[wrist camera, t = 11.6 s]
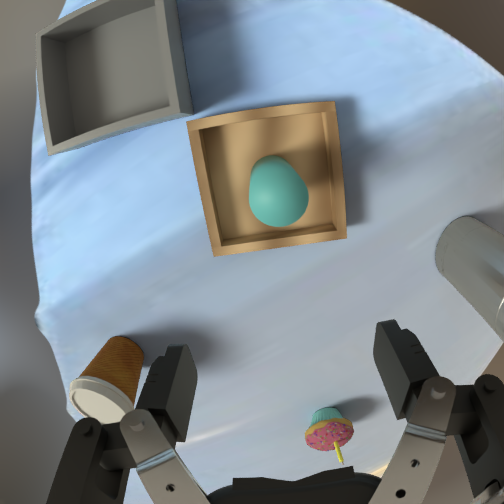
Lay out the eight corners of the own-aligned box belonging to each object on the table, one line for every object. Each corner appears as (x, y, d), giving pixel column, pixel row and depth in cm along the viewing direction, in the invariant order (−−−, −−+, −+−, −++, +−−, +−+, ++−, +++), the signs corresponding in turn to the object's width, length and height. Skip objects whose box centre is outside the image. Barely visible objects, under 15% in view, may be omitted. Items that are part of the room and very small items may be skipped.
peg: (290, 152, 29) (305, 165, 21) (296, 194, 31) (311, 222, 23) (246, 159, 29) (243, 174, 21) (254, 200, 31) (254, 230, 23)
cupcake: (316, 398, 45) (326, 458, 34) (357, 403, 46) (372, 458, 35) (294, 424, 49) (300, 479, 38) (334, 428, 50) (343, 479, 39)
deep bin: (175, -3, 23) (160, -24, 17) (194, 114, 28) (180, 112, 23) (63, 41, 24) (35, 33, 18) (78, 148, 29) (48, 156, 24)
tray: (327, 102, 28) (334, 100, 25) (339, 228, 33) (346, 238, 30) (192, 121, 29) (186, 121, 26) (217, 245, 34) (213, 256, 32)
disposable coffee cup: (88, 329, 40) (53, 383, 29) (140, 325, 39) (110, 387, 28) (113, 373, 44) (89, 427, 33) (163, 372, 43) (144, 433, 32)
